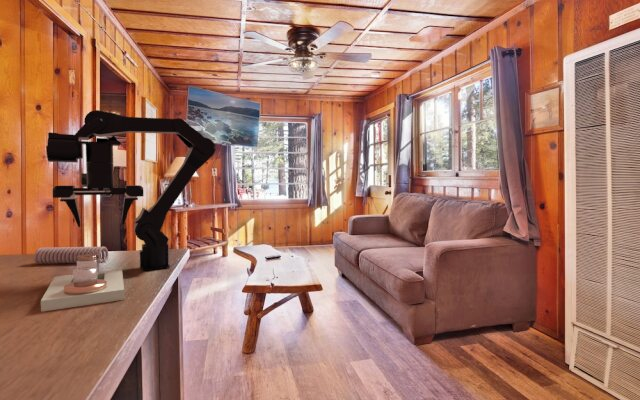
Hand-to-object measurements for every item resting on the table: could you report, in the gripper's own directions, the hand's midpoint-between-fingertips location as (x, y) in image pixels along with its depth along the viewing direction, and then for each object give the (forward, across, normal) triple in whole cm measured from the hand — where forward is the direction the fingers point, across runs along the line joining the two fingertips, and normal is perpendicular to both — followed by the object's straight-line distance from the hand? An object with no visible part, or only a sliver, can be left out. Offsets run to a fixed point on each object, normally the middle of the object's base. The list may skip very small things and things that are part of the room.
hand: (101, 225), depth 88 cm
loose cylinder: (+12, +2, +12) cm, 17 cm away
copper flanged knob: (+10, +2, +21) cm, 23 cm away
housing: (+12, +2, +16) cm, 20 cm away
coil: (+12, +8, -18) cm, 23 cm away
